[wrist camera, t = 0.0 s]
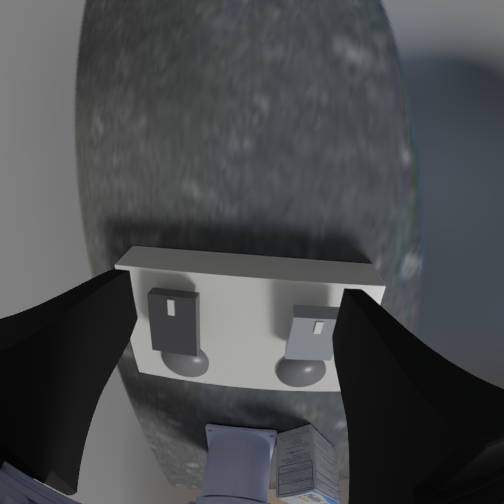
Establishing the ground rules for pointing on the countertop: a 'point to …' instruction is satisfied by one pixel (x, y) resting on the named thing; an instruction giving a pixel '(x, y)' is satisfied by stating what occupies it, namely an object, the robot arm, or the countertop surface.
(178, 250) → the switch panel
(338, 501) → the medicine box
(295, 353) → the block
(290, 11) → the countertop surface
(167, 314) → the block
